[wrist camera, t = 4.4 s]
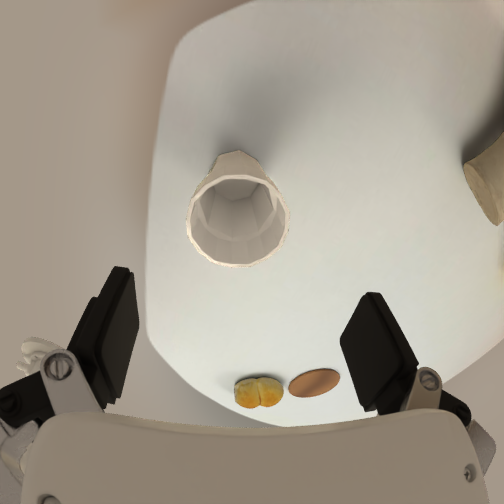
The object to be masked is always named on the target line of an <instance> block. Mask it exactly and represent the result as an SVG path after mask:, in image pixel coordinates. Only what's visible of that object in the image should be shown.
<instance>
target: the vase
mask: <svg viewBox="0 0 504 504" xmlns="http://www.w3.org/2000/svg"><path fill="white" fill-rule="evenodd" d="M463 169H464V174H465V177H466V180H467V182H468V184H469V186H470V188H471V190H472V192H473V193H474V195H475V197H476V199H477V202H478V203H479V205H480V206H481V208H482V210H483V211H484V213H485V215H486V216H487V217H488V219H489V220H490V221H491V222H492V223H493V224H494V225H496V226H498V225H499V224H500V223H501V222H502V221H503V220H504V131H503V133H502V134H501V135H500V137H499V138H498V139H497V140H496V141H495V142H494V143H493V144H492V145H491V146H490V147H489V148H487V149H486V150H485V151H483V152H482V153H481V154H480V155H478V156H477V157H475V158H474V159H472V160H470V161H468V162H465V164H464V166H463Z"/></svg>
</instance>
